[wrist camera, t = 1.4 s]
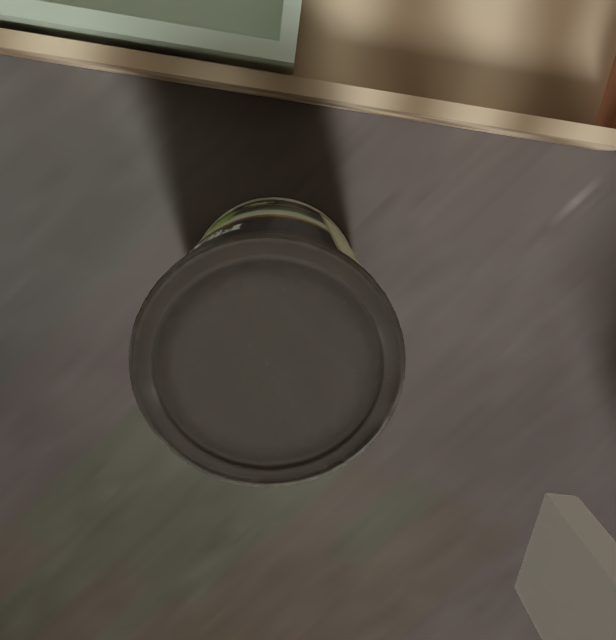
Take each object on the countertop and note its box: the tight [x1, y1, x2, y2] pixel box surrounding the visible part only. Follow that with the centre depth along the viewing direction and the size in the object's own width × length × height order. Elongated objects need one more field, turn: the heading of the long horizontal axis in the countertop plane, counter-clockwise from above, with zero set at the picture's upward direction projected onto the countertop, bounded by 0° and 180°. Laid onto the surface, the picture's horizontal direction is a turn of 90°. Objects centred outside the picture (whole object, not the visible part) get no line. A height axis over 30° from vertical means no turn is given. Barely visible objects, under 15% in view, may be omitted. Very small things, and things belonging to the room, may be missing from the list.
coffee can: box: [129, 197, 405, 487], centre depth 26 cm, size 10×10×14 cm
